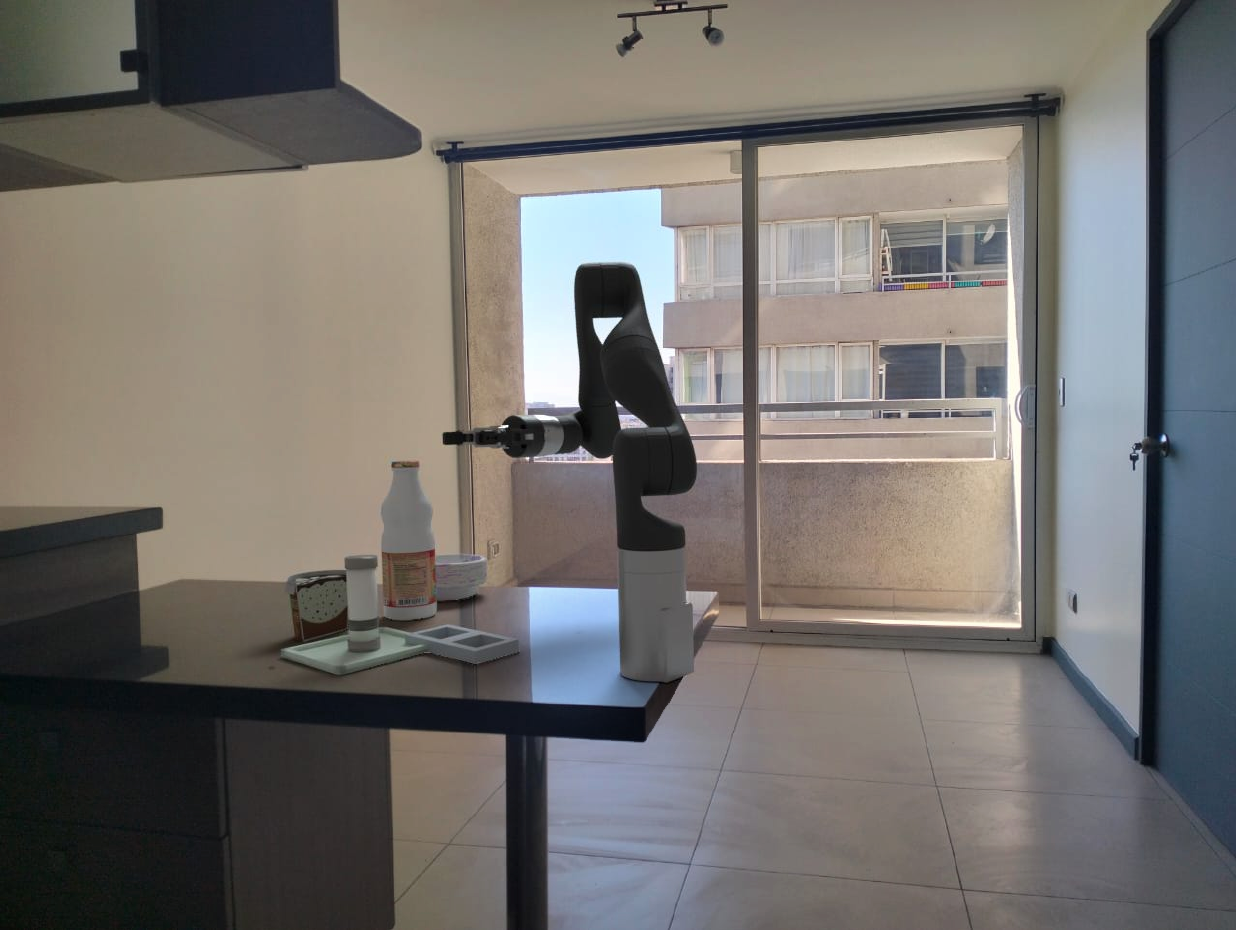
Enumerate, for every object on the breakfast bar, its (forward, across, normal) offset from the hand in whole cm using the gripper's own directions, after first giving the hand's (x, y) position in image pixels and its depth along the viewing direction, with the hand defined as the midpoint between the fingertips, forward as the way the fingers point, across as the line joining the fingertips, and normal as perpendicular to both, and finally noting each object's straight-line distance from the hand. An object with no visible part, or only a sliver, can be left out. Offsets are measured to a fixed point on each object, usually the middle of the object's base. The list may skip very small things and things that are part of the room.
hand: (460, 438), depth 144 cm
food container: (+16, -20, +32) cm, 41 cm away
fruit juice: (-2, -18, +32) cm, 37 cm away
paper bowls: (-17, -26, +32) cm, 45 cm away
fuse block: (+8, +9, +32) cm, 34 cm away
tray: (+18, -2, +32) cm, 37 cm away
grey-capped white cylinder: (+18, -2, +31) cm, 36 cm away
